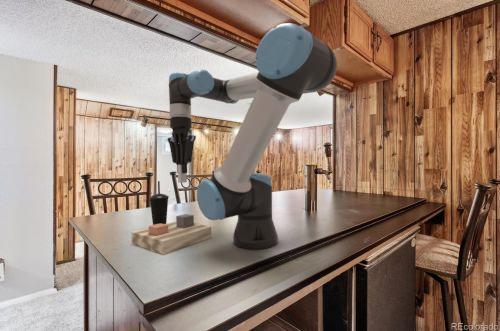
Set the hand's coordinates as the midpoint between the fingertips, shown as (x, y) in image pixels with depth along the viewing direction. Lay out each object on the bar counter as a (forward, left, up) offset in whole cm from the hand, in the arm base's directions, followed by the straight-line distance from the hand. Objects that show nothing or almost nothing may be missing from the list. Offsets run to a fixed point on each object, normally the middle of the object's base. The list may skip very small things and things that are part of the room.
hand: (182, 182), depth 91 cm
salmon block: (0, +10, -19) cm, 21 cm away
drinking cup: (+17, -2, -20) cm, 27 cm away
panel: (0, +4, -20) cm, 21 cm away
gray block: (0, -1, -17) cm, 17 cm away
